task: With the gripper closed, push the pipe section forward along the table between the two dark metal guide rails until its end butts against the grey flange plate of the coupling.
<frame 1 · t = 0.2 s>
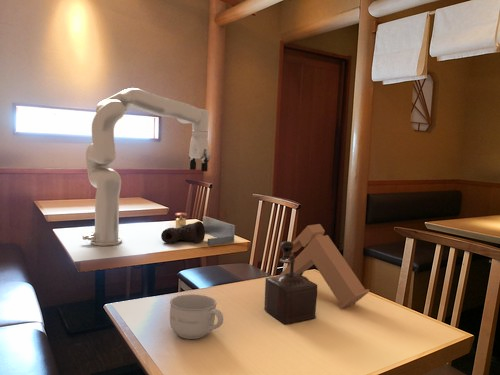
hand: (198, 170, 198), 31 cm above the table, tool pointing down, fingers open, 9 cm apart
pipe: (183, 242, 183), on the table
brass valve: (180, 230, 204), on the table
coupling: (205, 238, 190), on the table
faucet: (318, 295, 126), on the table
pepper mill: (284, 311, 112), on the table
teacup: (196, 336, 95), on the table
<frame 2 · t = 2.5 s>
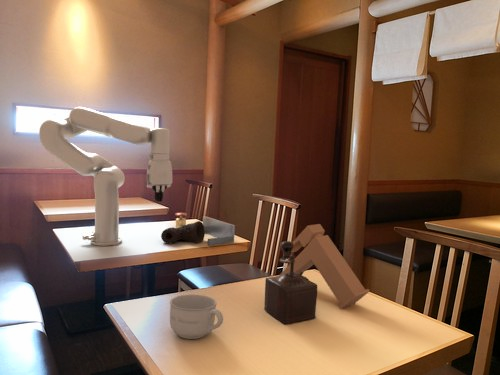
hand: (158, 201, 172), 19 cm above the table, tool pointing down, fingers closed
nothing on the table moved.
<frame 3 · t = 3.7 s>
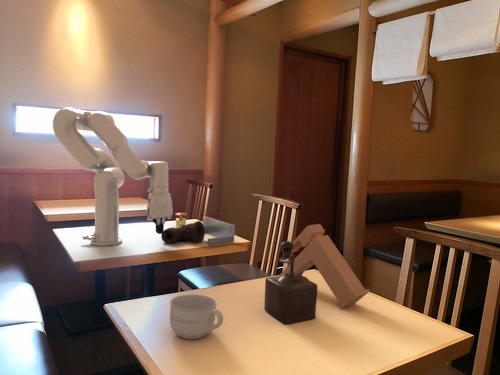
hand: (159, 233, 174), 5 cm above the table, tool pointing down, fingers closed
nothing on the table moved.
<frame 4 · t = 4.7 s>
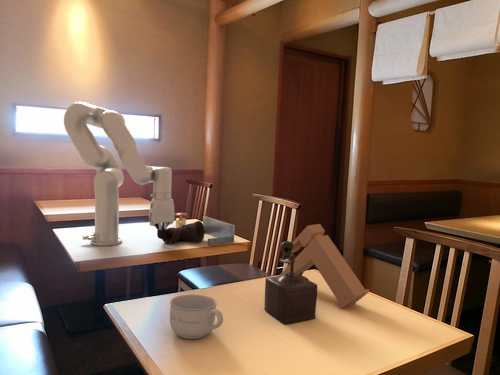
hand: (161, 238, 175), 3 cm above the table, tool pointing down, fingers closed
pipe: (183, 242, 183), on the table, touching gripper
everything else where it was.
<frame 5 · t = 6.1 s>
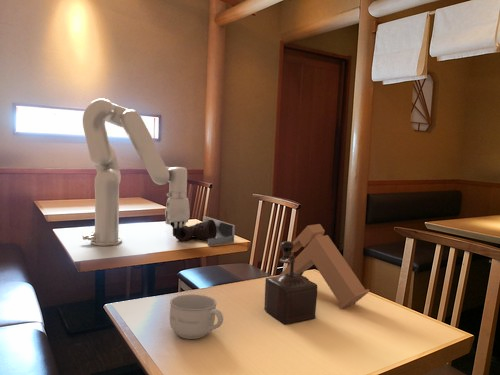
hand: (176, 236, 180), 3 cm above the table, tool pointing down, fingers closed
pipe: (196, 240, 188), on the table
everything else where it was.
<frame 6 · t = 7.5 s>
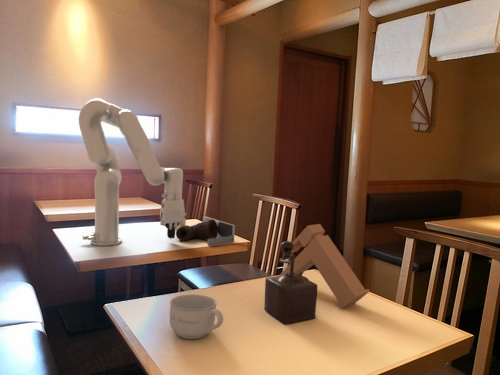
hand: (171, 237, 179), 2 cm above the table, tool pointing down, fingers closed
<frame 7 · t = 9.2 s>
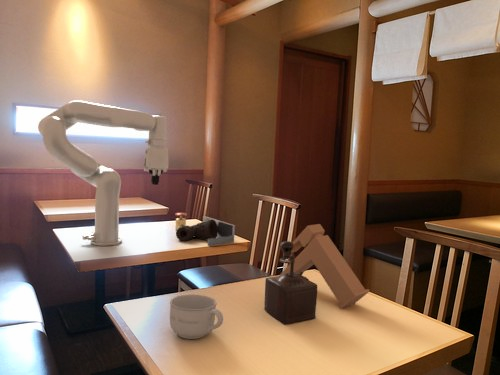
hand: (154, 184, 183), 25 cm above the table, tool pointing down, fingers closed
nothing on the table moved.
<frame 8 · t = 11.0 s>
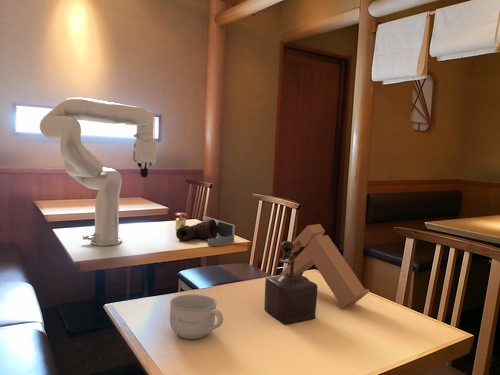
hand: (143, 177, 189), 27 cm above the table, tool pointing down, fingers closed
nothing on the table moved.
at the end: pipe inside the target area on the coupling (1.7 cm from its centre), point 0.0 cm above the coupling's base; pipe moved 8.1 cm from its start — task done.
